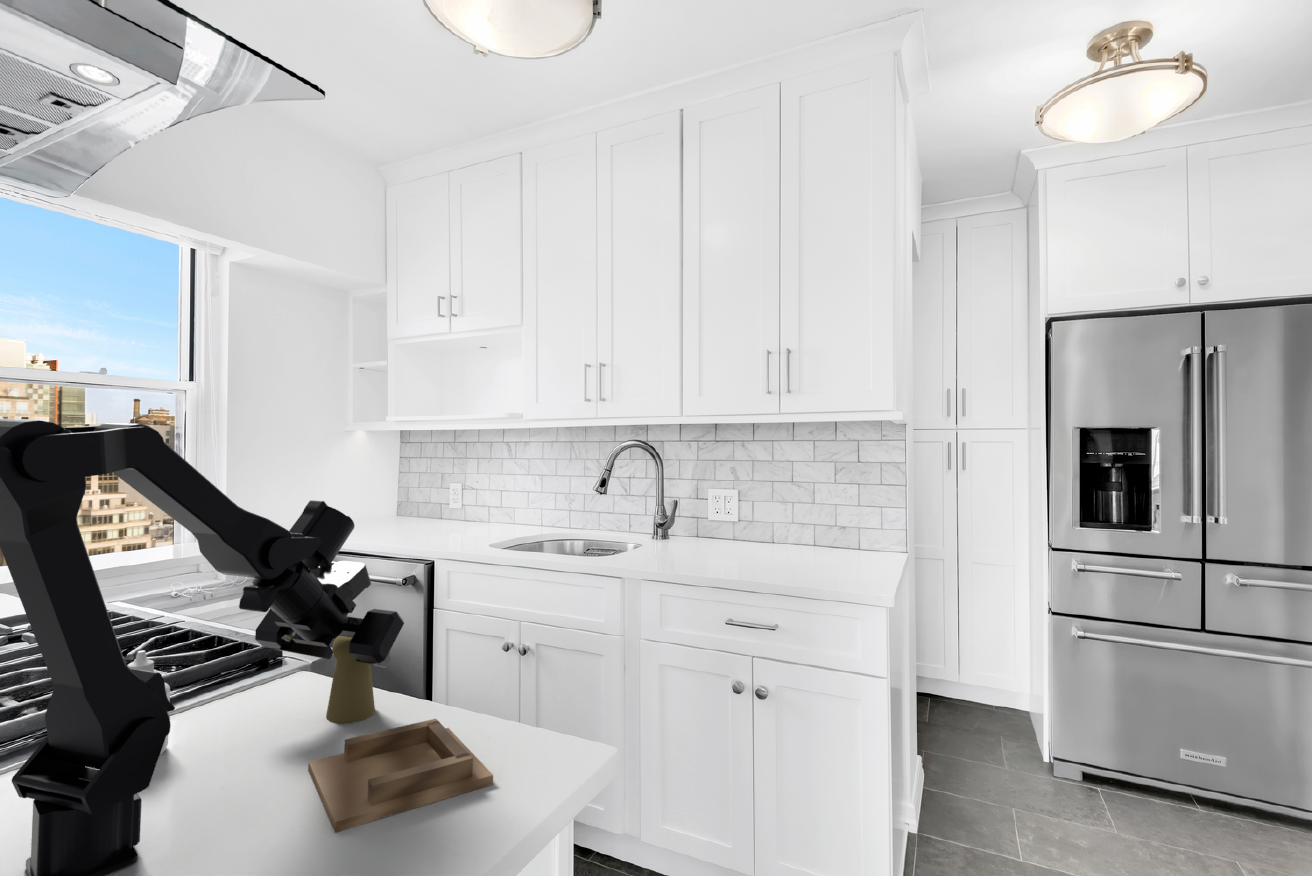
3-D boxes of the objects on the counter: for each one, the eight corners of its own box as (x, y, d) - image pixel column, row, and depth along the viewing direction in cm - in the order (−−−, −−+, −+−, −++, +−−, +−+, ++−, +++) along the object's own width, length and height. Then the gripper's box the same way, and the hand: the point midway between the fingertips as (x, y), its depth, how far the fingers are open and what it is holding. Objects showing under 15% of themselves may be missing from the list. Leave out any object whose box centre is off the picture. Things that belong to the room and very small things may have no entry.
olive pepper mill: (356, 725, 85) (359, 641, 85) (315, 719, 86) (319, 636, 86) (384, 707, 91) (387, 628, 91) (346, 702, 92) (349, 624, 92)
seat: (334, 832, 62) (336, 801, 62) (308, 770, 73) (309, 743, 73) (492, 784, 72) (493, 756, 72) (448, 735, 83) (448, 712, 83)
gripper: (397, 550, 82) (443, 615, 93) (276, 539, 87) (333, 602, 98) (351, 629, 75) (407, 690, 85) (221, 612, 79) (289, 672, 90)
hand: (358, 660), depth 90 cm, fingers open, 9 cm apart
